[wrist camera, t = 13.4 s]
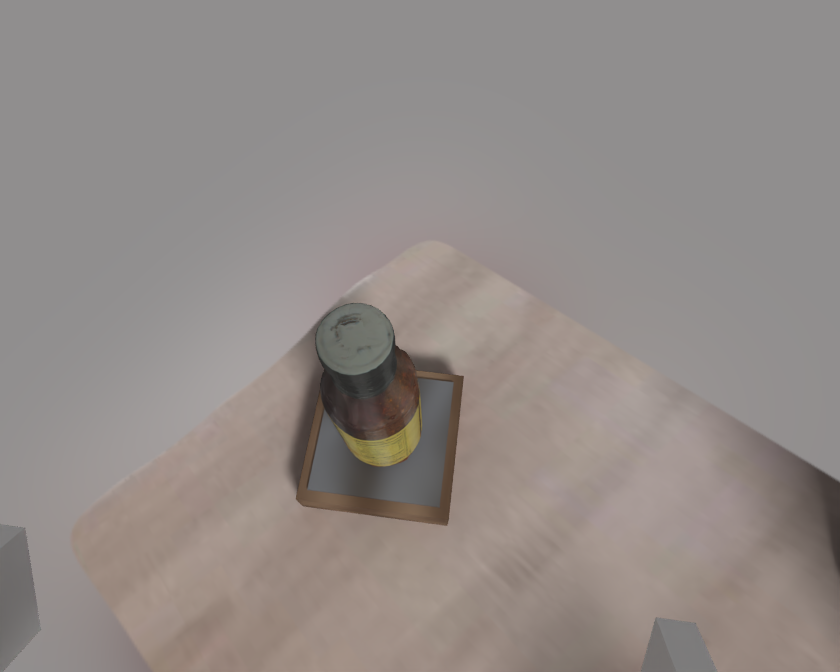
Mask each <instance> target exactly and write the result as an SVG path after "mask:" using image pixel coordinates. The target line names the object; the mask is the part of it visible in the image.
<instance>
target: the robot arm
mask: <svg viewBox="0 0 840 672" xmlns="http://www.w3.org/2000/svg"><path fill="white" fill-rule="evenodd" d="M40 630H41V628H40V621H39V615H38V608H37V602H36V596H35V589H34V582H33V577H32V569H31V563H30V556H29V550H28V544H27V537H26V531H25V528H22V527H15V526H9V525H1V524H0V672H3V671H4V670H5V668H7V667H8V665H9V664H10V663H11V662H12V661H13V660H14V659H15V658H16V657H17V655H18V654H19V653H20V652H21V651H22V650H23V649H24V648H25V647H26V645H27V644H28V643H29V642H30V641H31V640H32V639H33V638H34V637H35V635H36V634H37V633H38V632H39V631H40ZM641 672H717V670H716V667H715V665H714V663H713V661H712V659H711V656H710V654H709V652H708V650H707V648H706V645H705V643H704V641H703V639H702V637H701V634H700V632H699V630H698V628H697V625H696V623H691V622H684V621H677V620H670V619H663V618H656V619H655V622H654V626H653V629H652V633H651V637H650V640H649V644H648V647H647V651H646V655H645V658H644V662H643V665H642V669H641Z"/></svg>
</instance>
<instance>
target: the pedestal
mask: <svg viewBox="0 0 840 672" xmlns="http://www.w3.org/2000/svg"><path fill="white" fill-rule="evenodd" d="M324 370H325V369H324ZM416 373H417V379H418V382H419V388H420V399H421V413H422V431H421V437H420V440H419V442H418V444H417V446H416V448H415V449H414V451H413V452H412V453H411V455H410V456H409V457H408V459H407V460H405V461H403V462H401V463H398V464H394V465H391V466H385V467H376V466H372V465H370V464H368V463H365V462H363V461H361V460H359V459H358V458H357V457H356V456H355V455H354V454H353V453H352V452H351V451H350V449H349V448H348V446H347V445H346V443H345V442H344V440H343V438H342V437H341V435H340V433H339V432H338V430H337V429H336V427H335V426H334V424H333V422H332V421H331V419H330V417H329V416H328V414H327V412H326V410H325V408H324V406H323V403H322V399H321V394H320V392H319V396H318V401H317V405H316V410H315V414H314V419H313V423H312V428H311V432H310V437H309V441H308V446H307V450H306V455H305V459H304V464H303V468H302V473H301V477H300V482H299V486H298V491H297V495H296V500H297V501H298V502H299V503H300V504H301V505H302V506H306V507H313V508H321V509H328V510H335V511H343V512H350V513H358V514H365V515H372V516H380V517H387V518H395V519H402V520H409V521H417V522H424V523H432V524H439V525H446V526H447V524H448V520H449V511H450V502H451V492H452V483H453V473H454V464H455V454H456V445H457V435H458V426H459V416H460V407H461V397H462V388H463V378H464V376H459V375H450V374H442V373H433V372H425V371H417V370H416Z"/></svg>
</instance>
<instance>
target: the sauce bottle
mask: <svg viewBox="0 0 840 672" xmlns="http://www.w3.org/2000/svg"><path fill="white" fill-rule="evenodd" d="M315 341H316V342H315V344H316V350H317V354H318V357H319V360H320V362H321V364H322V366H323V367H324V369H325V370H324V372H323V374H322V378H321V383H320V394H321V399H322V403H323V406H324V408H325V410H326V412H327V414H328V416H329V417H330V419H331V421H332V422H333V424H334V426H335V427H336V429H337V430H338V432H339V433H340V435H341V437H342V438H343V440H344V442H345V443H346V445H347V446H348V448H349V449H350V451H351V452H352V453H353V454H354V455H355V456H356V457H357V458H358V459H359V460H361V461H363V462H365V463H368V464H370V465H372V466H376V467H385V466H391V465H394V464H398V463H401V462H403V461H405V460H407V459H408V457H409V456H410V455H411V453H412V452H413V451H414V449H415V448H416V446H417V444H418V442H419V440H420V437H421V431H422V413H421V399H420V388H419V382H418V379H417V373H416V370H415V367H414V364H413V363H412V361H411V359H410V357H409V356H408V354H407V353H406V352H405V351H403V350H401V349H399V347H398V346H396V345H395V335H394V330H393V327H392V325H391V323H390V321H389V319H388V318H387V317H386V315H385V314H383V313H382V312H381V311H380V310H379V309H377V308H375V307H373V306H371V305H367V304H363V303H351V304H346V305H343V306H341V307H339V308H337V309H335V310H334V311H332V312H331V313H329V314H328V315H327V316H326V317H325V318H324V319H323V320H322V322H321V324H320V326H319V327H318V329H317V332H316V338H315Z"/></svg>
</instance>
